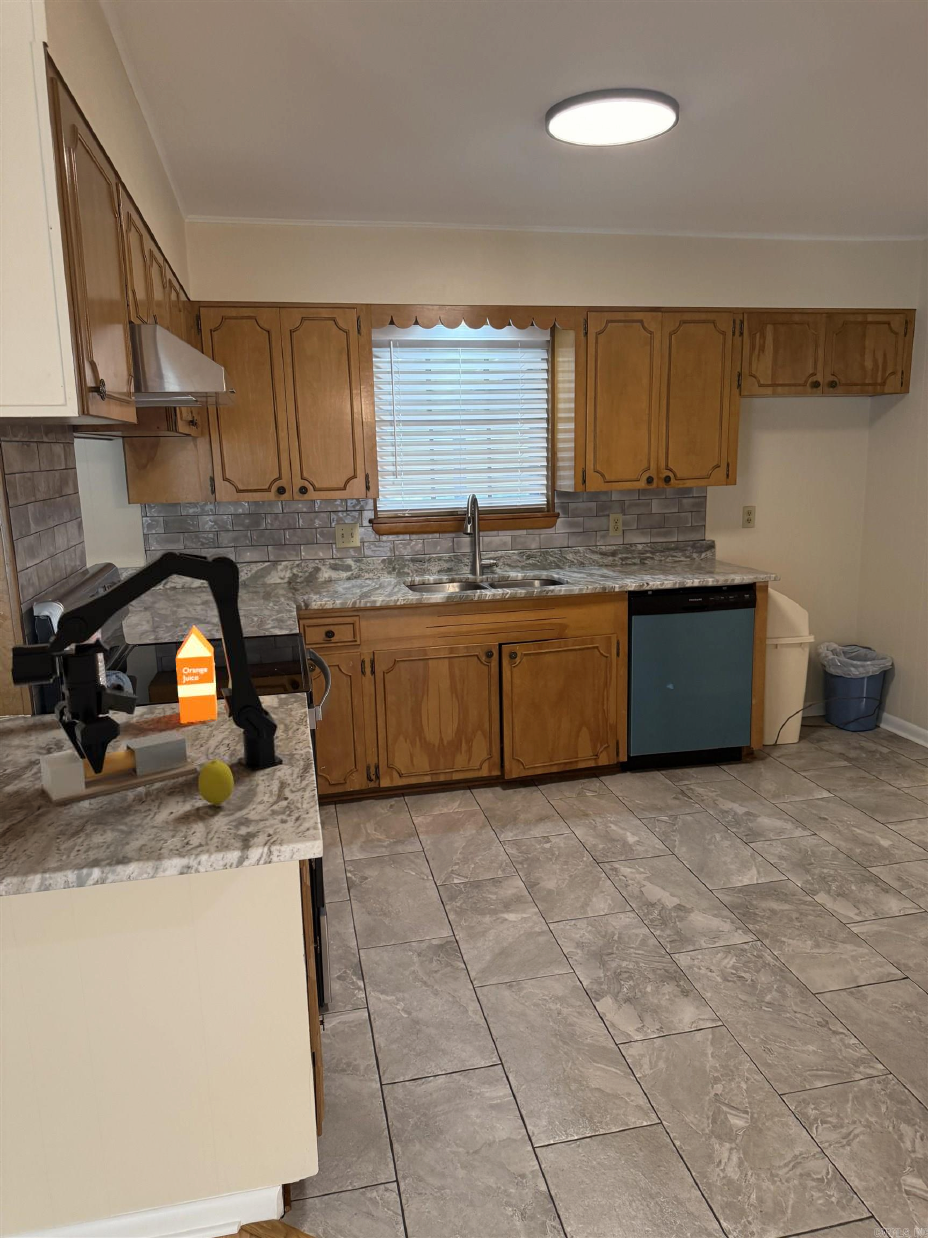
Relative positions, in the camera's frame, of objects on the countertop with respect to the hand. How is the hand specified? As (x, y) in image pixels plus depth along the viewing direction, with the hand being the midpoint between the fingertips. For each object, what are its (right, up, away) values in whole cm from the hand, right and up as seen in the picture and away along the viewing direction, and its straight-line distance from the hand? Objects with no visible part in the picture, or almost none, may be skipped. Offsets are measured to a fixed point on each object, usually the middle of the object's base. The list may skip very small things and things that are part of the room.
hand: (91, 765), depth 146 cm
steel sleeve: (+9, -2, +8) cm, 12 cm away
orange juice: (+6, +4, +40) cm, 41 cm away
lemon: (+24, -5, -8) cm, 26 cm away
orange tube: (+4, -1, +4) cm, 6 cm away
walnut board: (+4, -3, +4) cm, 6 cm away
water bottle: (-17, +3, +40) cm, 44 cm away
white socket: (-4, -4, -2) cm, 6 cm away
